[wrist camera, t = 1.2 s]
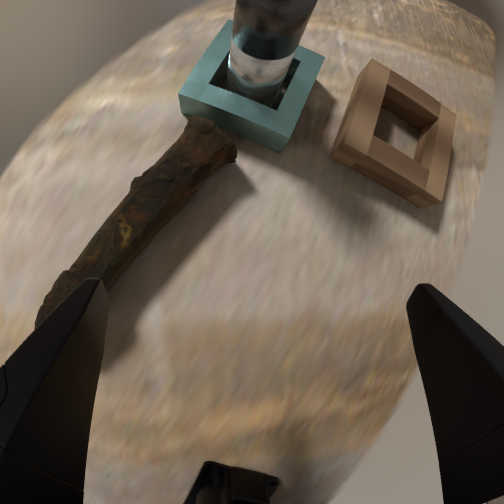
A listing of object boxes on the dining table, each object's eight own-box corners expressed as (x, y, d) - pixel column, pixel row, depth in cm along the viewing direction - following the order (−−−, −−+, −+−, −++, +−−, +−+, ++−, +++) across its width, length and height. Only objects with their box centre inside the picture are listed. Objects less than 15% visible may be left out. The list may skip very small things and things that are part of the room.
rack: (420, 207, 24) (442, 201, 21) (329, 156, 23) (344, 143, 20) (437, 125, 25) (455, 114, 22) (357, 76, 24) (371, 58, 21)
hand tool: (199, 128, 22) (196, 97, 18) (237, 162, 23) (244, 137, 18) (35, 311, 20) (2, 319, 16) (68, 349, 20) (40, 365, 16)
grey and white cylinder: (265, 120, 23) (315, -2, 10) (216, 101, 22) (226, -31, 9) (283, 83, 23) (336, -37, 10) (238, 64, 23) (261, -62, 10)
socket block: (280, 153, 23) (289, 137, 20) (181, 112, 22) (178, 93, 19) (314, 76, 23) (325, 57, 20) (226, 41, 23) (228, 19, 20)
